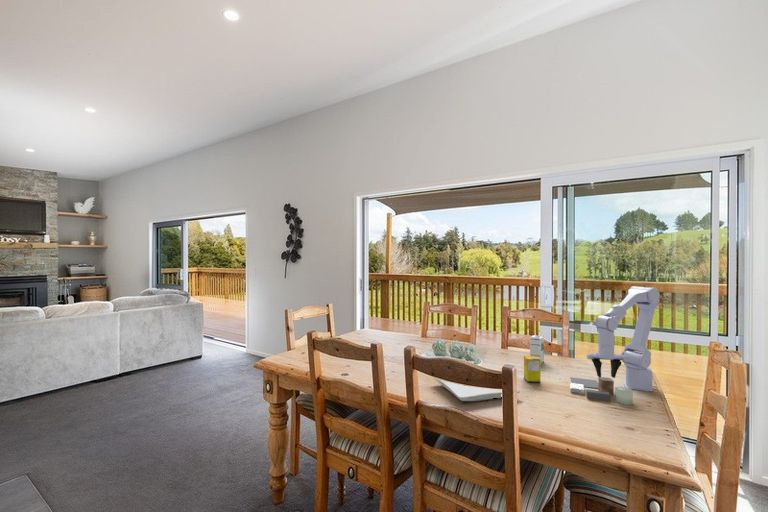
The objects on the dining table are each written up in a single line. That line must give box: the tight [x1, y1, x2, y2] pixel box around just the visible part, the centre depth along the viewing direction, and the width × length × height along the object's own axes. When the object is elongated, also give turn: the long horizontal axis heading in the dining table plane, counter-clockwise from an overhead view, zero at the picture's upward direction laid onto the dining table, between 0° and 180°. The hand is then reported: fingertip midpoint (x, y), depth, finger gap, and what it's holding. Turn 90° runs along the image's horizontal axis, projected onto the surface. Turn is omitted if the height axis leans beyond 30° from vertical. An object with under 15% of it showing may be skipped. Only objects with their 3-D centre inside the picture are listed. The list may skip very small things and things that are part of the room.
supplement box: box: [523, 355, 542, 384], centre depth 172 cm, size 6×6×11 cm
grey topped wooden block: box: [569, 382, 585, 395], centre depth 159 cm, size 7×5×2 cm
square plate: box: [434, 378, 520, 402], centre depth 160 cm, size 27×27×4 cm
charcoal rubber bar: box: [585, 388, 611, 402], centre depth 151 cm, size 8×3×3 cm, turn 68°
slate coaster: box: [569, 376, 598, 390], centre depth 168 cm, size 11×11×1 cm
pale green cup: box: [614, 386, 634, 406], centre depth 148 cm, size 6×6×5 cm
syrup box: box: [529, 335, 545, 366], centre depth 199 cm, size 6×6×14 cm
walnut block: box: [597, 376, 615, 396], centre depth 157 cm, size 4×4×6 cm
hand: (606, 376), depth 157 cm, fingers open, 5 cm apart
